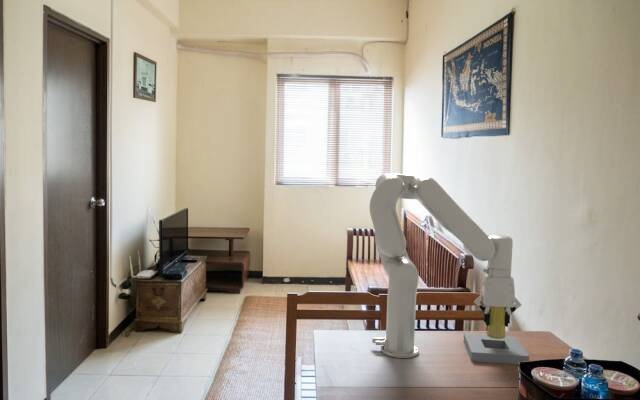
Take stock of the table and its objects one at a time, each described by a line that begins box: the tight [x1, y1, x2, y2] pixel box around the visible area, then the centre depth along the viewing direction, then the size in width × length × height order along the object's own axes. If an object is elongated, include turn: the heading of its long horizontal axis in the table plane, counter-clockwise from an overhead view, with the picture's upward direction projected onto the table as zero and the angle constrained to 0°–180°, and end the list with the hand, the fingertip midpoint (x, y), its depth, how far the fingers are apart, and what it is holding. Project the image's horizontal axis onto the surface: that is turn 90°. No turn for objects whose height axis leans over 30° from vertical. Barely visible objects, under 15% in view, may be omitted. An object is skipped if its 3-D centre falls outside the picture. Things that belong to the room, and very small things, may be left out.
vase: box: [486, 307, 507, 339], centre depth 186 cm, size 6×6×14 cm
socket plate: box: [463, 333, 530, 365], centre depth 187 cm, size 18×18×3 cm
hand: (496, 324), depth 186 cm, fingers closed on vase, 5 cm apart
